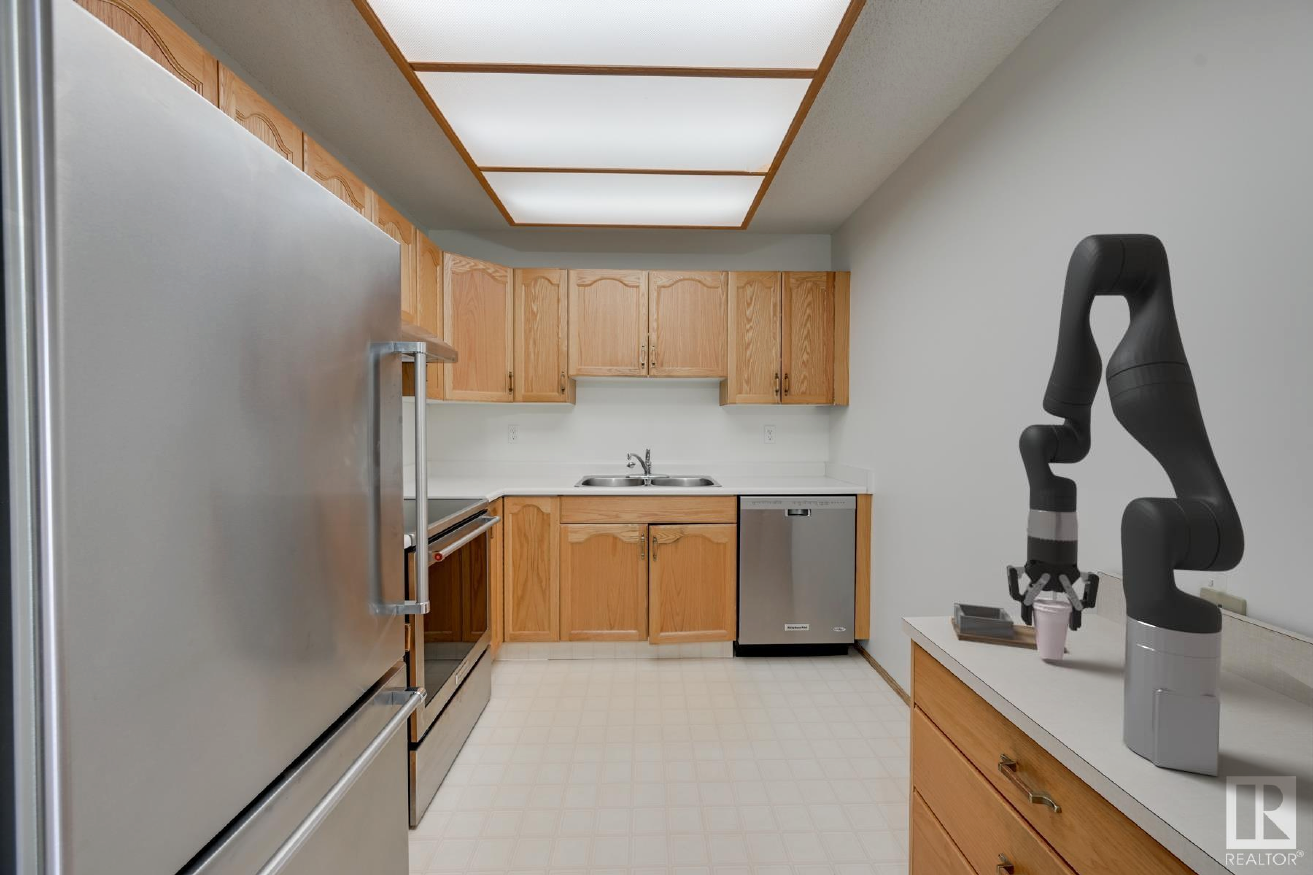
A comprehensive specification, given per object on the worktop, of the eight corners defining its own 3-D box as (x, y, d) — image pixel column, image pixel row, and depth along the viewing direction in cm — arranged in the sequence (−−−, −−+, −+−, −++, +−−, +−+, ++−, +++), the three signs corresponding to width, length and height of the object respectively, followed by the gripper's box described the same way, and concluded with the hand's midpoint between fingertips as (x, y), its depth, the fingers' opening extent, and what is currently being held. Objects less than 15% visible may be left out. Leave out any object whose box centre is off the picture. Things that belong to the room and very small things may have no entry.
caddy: (1065, 653, 107) (1066, 629, 107) (958, 639, 114) (959, 617, 114) (1048, 633, 118) (1049, 611, 118) (951, 622, 124) (951, 601, 124)
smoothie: (1071, 665, 99) (1072, 584, 99) (1027, 656, 103) (1028, 579, 103) (1072, 654, 104) (1073, 577, 104) (1030, 646, 108) (1031, 572, 108)
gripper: (1010, 535, 102) (1009, 628, 102) (1108, 541, 97) (1106, 639, 97) (1001, 528, 109) (1000, 616, 109) (1092, 534, 104) (1090, 625, 104)
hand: (1050, 626), depth 103 cm, fingers closed on smoothie, 6 cm apart
